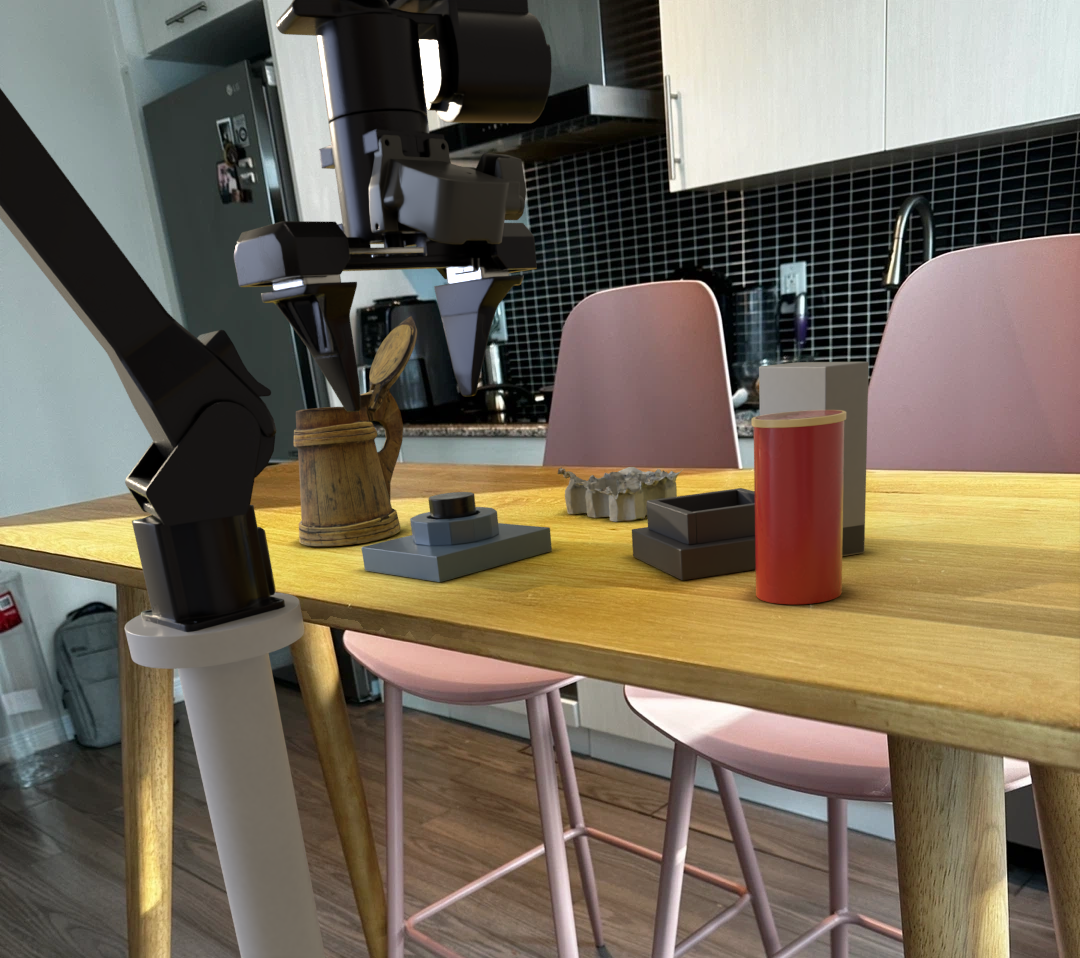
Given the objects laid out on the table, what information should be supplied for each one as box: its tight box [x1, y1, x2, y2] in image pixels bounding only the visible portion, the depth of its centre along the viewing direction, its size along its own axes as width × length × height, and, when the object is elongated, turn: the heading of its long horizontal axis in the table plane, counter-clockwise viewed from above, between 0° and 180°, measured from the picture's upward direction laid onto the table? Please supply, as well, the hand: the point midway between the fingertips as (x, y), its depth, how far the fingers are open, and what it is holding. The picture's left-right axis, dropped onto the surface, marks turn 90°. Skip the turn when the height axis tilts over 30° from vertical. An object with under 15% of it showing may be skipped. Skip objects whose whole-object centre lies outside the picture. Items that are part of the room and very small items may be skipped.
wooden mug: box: [293, 315, 418, 548], centre depth 90 cm, size 9×14×18 cm, turn 124°
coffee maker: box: [631, 361, 870, 581], centre depth 68 cm, size 13×9×12 cm
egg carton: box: [557, 466, 683, 522], centre depth 91 cm, size 11×8×4 cm
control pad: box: [361, 506, 553, 583], centre depth 77 cm, size 11×9×4 cm
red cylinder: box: [751, 410, 846, 606], centre depth 58 cm, size 5×5×10 cm
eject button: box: [428, 491, 477, 520], centre depth 76 cm, size 3×3×2 cm
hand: (413, 403), depth 65 cm, fingers open, 9 cm apart
